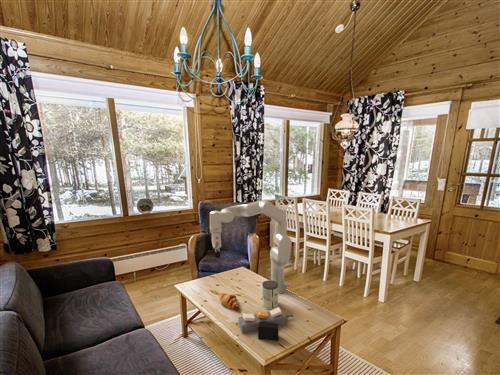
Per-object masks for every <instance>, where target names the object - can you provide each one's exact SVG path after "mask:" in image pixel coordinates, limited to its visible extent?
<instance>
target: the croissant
mask: <svg viewBox="0 0 500 375" xmlns="http://www.w3.org/2000/svg"><path fill="white" fill-rule="evenodd" d="M219 300H220V301H219V302H220V303H221V305H223V306H224V307H226V308H229V309H231V310H238V309H240V305H239V302H238V298H237V295H235V294H234V293H226V292H221V293H220V294H219Z"/></svg>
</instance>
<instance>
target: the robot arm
mask: <svg viewBox="0 0 500 375" xmlns="http://www.w3.org/2000/svg"><path fill="white" fill-rule="evenodd" d="M259 214H264V215H265V216H267V217H269V218H271V219H272V220H273V222H274V231H273V232H274V233H273V240H272V241H273V242H274V244H275V246H272V248H270V252H269V258H270V280H272V281H275V282H277V283H278V294H283V293H286V291H287V287H291V283H290V282H289V283H288V282H285V265H287V264H288V263H289V261H290V258H291V253H292V245H293V244H292V238H291V237H290V236H289V235H288V234H287V230H288V223H287V222H288V221H287V213H286V212H285V211H284V210H283V209H281V208H280V207H278V206H276V205H274V204H273V203H271V202H270V201H267V200H258V201H253V202H250V203H249V202H248V203H246V204H238V205H233V206H229V207H225V208H223V209H221V211H219V210H212V211H210V212H209V233H210V234H211V244H212V253H213V254H214V257H215V259H218V258H221V249H222V238H221V233H222V223H231V222H232V221H233V220H234V217H252V216H256V215H259Z"/></svg>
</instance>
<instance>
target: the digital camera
mask: <svg viewBox="0 0 500 375" xmlns="http://www.w3.org/2000/svg"><path fill="white" fill-rule="evenodd" d="M257 335H258V337H257V340H260V341H261V340H262V341H263V340H264V341H272V342H278V341H279V326H278V323H267V322H266V321H262V322H259V326H258V330H257Z"/></svg>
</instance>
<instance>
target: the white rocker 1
mask: <svg viewBox="0 0 500 375" xmlns="http://www.w3.org/2000/svg"><path fill="white" fill-rule="evenodd" d="M242 317H243V318H244V320H246V321H255V317H254V314H253V313H245V312H244V313H242Z"/></svg>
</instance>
